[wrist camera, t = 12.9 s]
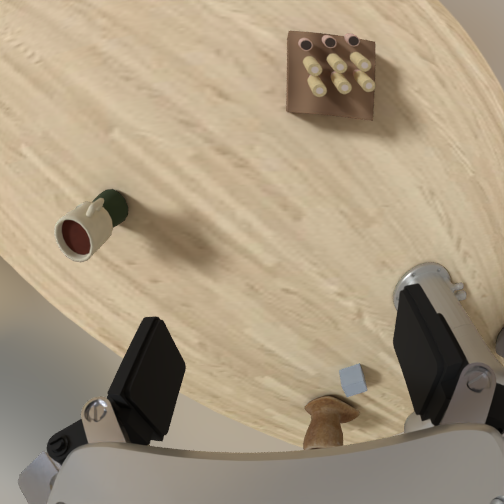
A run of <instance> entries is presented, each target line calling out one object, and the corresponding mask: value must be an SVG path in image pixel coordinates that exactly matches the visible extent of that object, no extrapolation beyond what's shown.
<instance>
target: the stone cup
mask: <svg viewBox="0 0 504 504" xmlns="http://www.w3.org/2000/svg"><path fill="white" fill-rule="evenodd" d="M305 410H306V411H307V412H308V413H309V414H310V415H311V419H312V420H311V423H310V425H309V427H308V430H307V432H306V435H305V438H304V442H303V448H304V450H311V449H321V448H329V447H337V446H343V433H342V429H341V425H340V423H346V422H349V421H351V420H353V419H355V418H356V417H358V415H359V413H360V412H359V411H358V410H356V409H355V408H353V407H351V406H350V405H348V404H346V403H345V402H343V401H341V400H339V399H337V398H335V397H331V396H324V397H320V398H317V399H315V400H312V401H311V402H309V403H308V404H307V405H306V406H305Z"/></svg>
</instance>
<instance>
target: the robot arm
mask: <svg viewBox="0 0 504 504" xmlns="http://www.w3.org/2000/svg"><path fill="white" fill-rule="evenodd" d="M461 289H463V283H462V282H460V283H456V284H453V283H451V282H450V276H449V274H448V272H447V270H446V269H445V268H444V267H443V266H442V265H440V264H438V263H434V262H428V263H423V264H420V265H417V266H415V267H414V268H412V269H410V270H409V271H408V272H407V273H406V274H405V275H404V276H403V277H402V278H401V279H400V280H399V282H398V284H397V285H396V287H395V290H394V294H393V302H394V306H395V308H396V310H397V318H396V325H395V331H394V338H393V345H394V349H395V352H396V355H397V357H398V360H399V363H400V366H401V369H402V372H403V375H404V378H405V381H406V384H407V388H408V391H409V394H410V397H411V401H412V404H413V407H414V412H413V413H411V414H410V415H409V416H408V418H407V419H406V421H405V424H404V434H401V435H397V436H392V437H387V438H382V439H377V440H372V441H367V442H362V443H356V444H350V445H344V446H337V447H329V448H321V449H311V450H301V451H288V452H267V453H265V452H264V453H228V452H205V451H190V450H179V449H170V448H162V447H153V446H150V445H149V444H150V440H155V441H163V437H164V435H166V434H167V433H168V430H169V426H170V423H171V419H172V415H173V412H174V408H175V404H176V401H177V397H178V394H179V390H180V387H181V383H182V380H183V376H184V373H185V369H186V366H185V362H184V360H183V358H182V356H181V354H180V352H179V350H178V349H177V347H176V345H175V343H174V341H173V339H172V337H171V335H170V333H169V331H168V329H167V327H166V325H165V323H164V321H163V320H160V318H159V317H145V318H144V319H143V320H142V322H141V324H140V326H139V328H138V330H137V332H136V334H135V336H134V338H133V340H132V342H131V344H130V346H129V348H128V350H127V352H126V354H125V356H124V358H123V361H122V363H121V365H120V367H119V369H118V371H117V373H116V375H115V378H114V380H113V382H112V384H111V386H110V389H109V391H108V396H107V398H105V397H101V396H100V397H95V398H92V399H90V400H89V401H88V402H87V403H86V404H85V405H84V407H83V408H82V412H81V418H82V419H80V420H79V421H77V422H75V423H73V424H72V425H70V426H68V427H66V428H65V429H63V430H61V431H59V432H58V433H56V434H55V435H53V436H52V437H51V438H50V439H49V442H48V444H47V452H45V451H43V452H42V453H41V454H40V455H39V456H38V457H37V458H36V459H35V460H34V461H33V462H32V463H31V464H30V465H29V466H27V468H25V469H24V470H23V471H22V472H21V474H20V476H19V479H18V484H19V487H20V489H21V491H22V493H23V495H24V496H25V498H26V500H27V502H28V503H29V504H504V367H503V366H502V365H501V364H500V362H499V361H498V360H497V359H496V357H495V356H494V355H493V353H492V352H491V351H490V349H489V347H488V346H487V344H486V343H485V341H484V340H483V338H482V337H481V335H480V333H479V332H478V330H477V328H476V327H475V325H474V324H473V322H472V321H471V319H470V317H469V316H468V314H467V313H466V311H465V310H464V308H463V307H462V305H461V304H460V302H459V301H461V300H465V299H466V292H465V291H464V290H462V291H458V292H456V293H454V291H455V290H461Z"/></svg>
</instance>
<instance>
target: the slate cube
mask: <svg viewBox="0 0 504 504" xmlns="http://www.w3.org/2000/svg"><path fill="white" fill-rule="evenodd" d="M339 373H340V379H341V385H342V388H343V390H344V392H345V394H346V396H347V397H349V396H353V395H356V394H359V393H362V392H365V391H367V386H366V382H365V377H364V374H363V371H362V368H361V366H360V363H359V364H357V365H354V366H351V367H348V368H345V369H342V370H339Z"/></svg>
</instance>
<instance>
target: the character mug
mask: <svg viewBox="0 0 504 504" xmlns="http://www.w3.org/2000/svg"><path fill="white" fill-rule="evenodd" d="M127 215H128V206H127V203H126V201H125V199H124V198H123V197H122V195H121V194H120V193H118V192H117V191H115V190H113V189H111V190H105V191H103V192H102V193H101V194H99V195H98V196H97V197H96V198H95V199H94V200H93V202H83V203H81V204H79V205H78V206H77V207H76V208H75V209H73V210H71V211H69V212H68V213H67V214H66V215H64V216H63V217H62V218H60V219H59V220H58V221H57V223H56V225H55V229H54V235H55V239H56V242H57V244H58V246H59V248H60V250H61V251H62V252H63V253H64V254H65V256H66V257H68V258H69V259H71V260H73V261H76V262H84V261H87V260H88V259H89V258H90V257H91V256H92V255H93V254H94V253H95V252H96V251H97V250H98V249H99V248H100V247H101V246H102V245H103V244H104V243H105V242H106V241H107V240H108V238H109V237H110V236H111V234H112V230H113V227H115V226H117V225H118V224H120V223H121V222H123V221H124V220H125V218H126V217H127Z"/></svg>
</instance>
